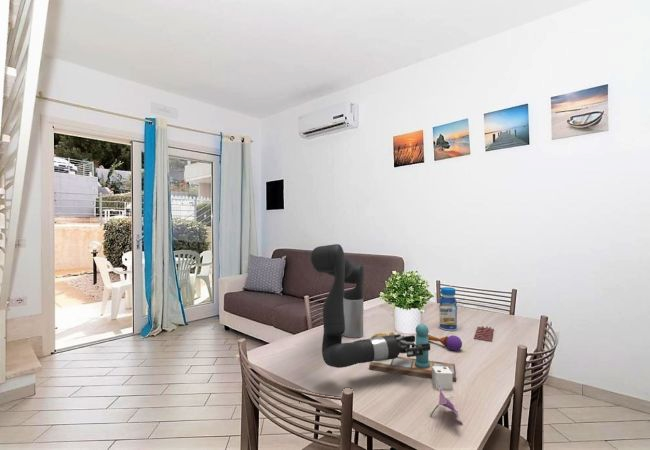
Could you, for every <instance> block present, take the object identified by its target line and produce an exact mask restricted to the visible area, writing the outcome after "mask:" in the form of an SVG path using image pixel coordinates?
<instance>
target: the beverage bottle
mask: <svg viewBox="0 0 650 450" xmlns="http://www.w3.org/2000/svg"><path fill="white" fill-rule="evenodd" d="M440 295H441V297H440V298H439V301H438V302H439V305H438V308H439V328H440V329H441V330H443V331H448V332H449V331H450V332H451V331H452V332H453V331H457V329H458V306H457V304H458V301H457V299H456V297H455V296H456V288H454V287H450V286H449V287H448V286H445V287H444V286H443V287H440Z"/></svg>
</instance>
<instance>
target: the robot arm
mask: <svg viewBox="0 0 650 450" xmlns="http://www.w3.org/2000/svg"><path fill="white" fill-rule="evenodd" d="M310 261H311V262H310V263H311V265H312V267H313V269H314V270H315V271H316V272H318V273H325V274H328V275H330V276H332V277H334V279H333V282H332V286H331V288H330V290H329V293H328V294H327V297H326V299H325V300H324V304H323V306H322V307H323V308H322V325H323V326H322V327H323V335H322V343H321V355H322V359H323V362H324V363H325V365H327V366H329V367H333V368H336V369H337V368H338V369H339V368H341V369H342V368H347V367H352V366H354V365H358V364H365V363H371V362H372V361H383V360H389V359H395V358H397V357H399V355H400V354H406V358H414V357H416V356H421V355H423V351H428V352H429V351H430V350H431V344H430V343H429V342H428V343H426V344H416V335H412V334H411V335H402V334H400V333H398V334H395V335H389V334H387V335H388V336H380V337H373V338H371V337H370V338H367V339H359V340H354V341H353V342H343V339H342V337H343V336H345V337H346V338H351V339H355V338H356V339H357V338H361V337H363V336H364V277H365V270H364V268H365V267H364V266H363V264H361V263H352V262H351V261H350V259H348V258H347V257H346V256H345V253H344V248H343V247H342V245H341V244H339V243H338V244H337V243H335V244H334V243H333V244H328V245H321V246H316V247H315V248H313V250H312V252H311V255H310ZM345 284H351V285H354V284H355V286H354V287H353V288H350V289H347V290H345ZM396 337H398V338H396ZM342 342H343V343H342Z"/></svg>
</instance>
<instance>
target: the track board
mask: <svg viewBox="0 0 650 450" xmlns="http://www.w3.org/2000/svg"><path fill="white" fill-rule="evenodd" d="M415 359H416V358H414V357H405V356H404V357H403V356H398V357H397V358H395V359H389V360H383V361H372V362H369V366H368V367H369V370H372V371H380V372H386V373H393V374H397V375H398V374H399V375H407V376H412V377H417V378H418V377H420V378H426V379H432V366H444V367H448V368H449V369H450V371H451V372H452V375H453V383H457V372H456V364H455V363H450V362H444V361H443V362H442V361H434V360H429V361H430V367H429V368H427V369H422V368H418V367H416V366H415Z"/></svg>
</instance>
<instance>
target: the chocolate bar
mask: <svg viewBox="0 0 650 450" xmlns="http://www.w3.org/2000/svg"><path fill="white" fill-rule="evenodd" d="M494 331H495V329H494V328H492V327H491V326H489V327H488V326H485V327H484V325H481V326H477V327H476V331H475V334H474V336H473V340H477V341H483V342H490V343H492V342H493V338H494V333H493V332H494Z"/></svg>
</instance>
